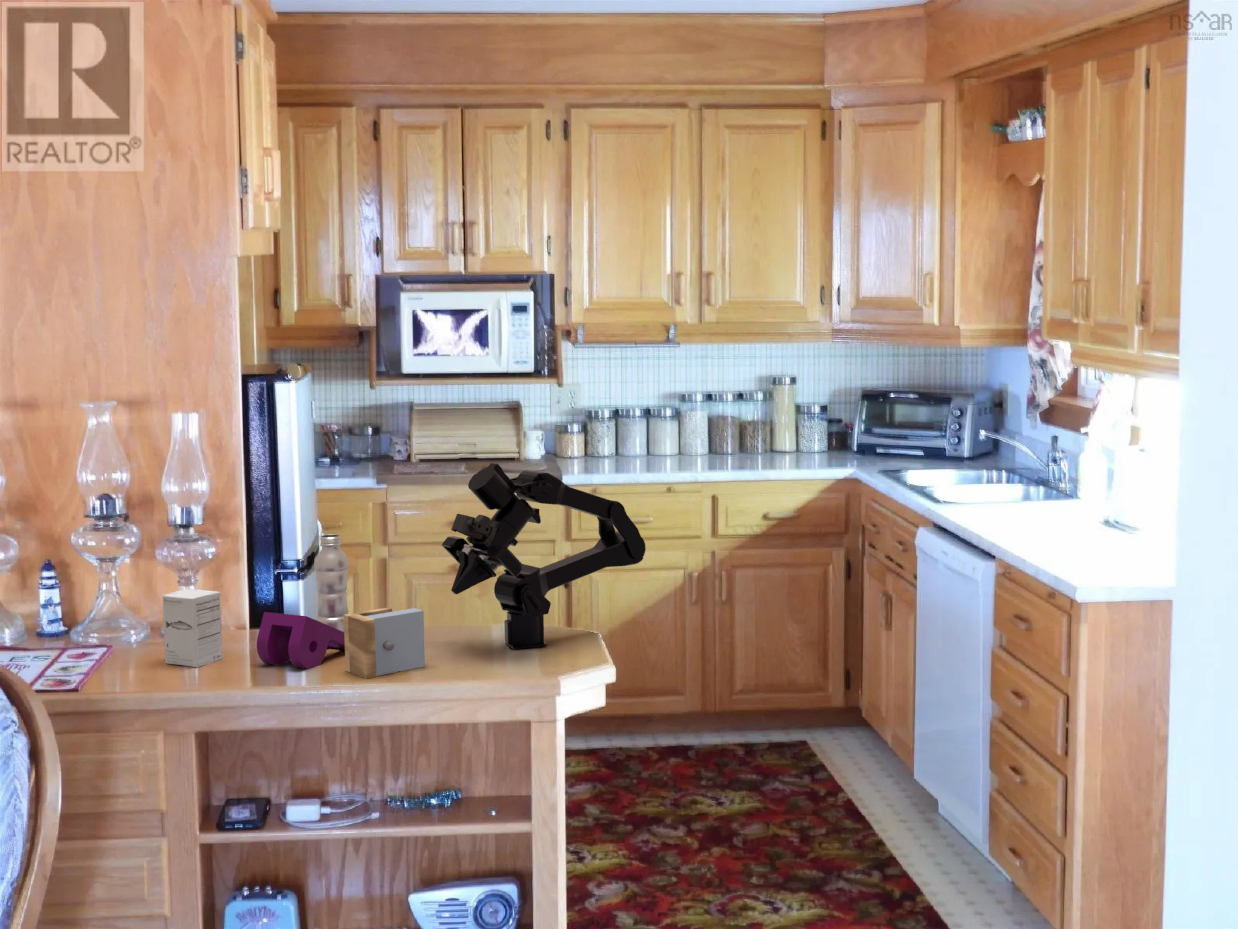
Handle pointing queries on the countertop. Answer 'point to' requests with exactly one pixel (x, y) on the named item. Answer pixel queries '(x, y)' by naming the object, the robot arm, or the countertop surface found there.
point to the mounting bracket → (296, 640)
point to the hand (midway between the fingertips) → (453, 592)
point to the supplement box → (192, 627)
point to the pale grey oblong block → (399, 640)
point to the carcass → (361, 642)
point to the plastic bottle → (331, 582)
